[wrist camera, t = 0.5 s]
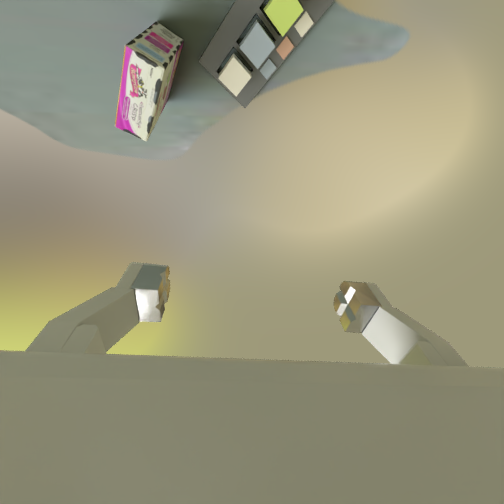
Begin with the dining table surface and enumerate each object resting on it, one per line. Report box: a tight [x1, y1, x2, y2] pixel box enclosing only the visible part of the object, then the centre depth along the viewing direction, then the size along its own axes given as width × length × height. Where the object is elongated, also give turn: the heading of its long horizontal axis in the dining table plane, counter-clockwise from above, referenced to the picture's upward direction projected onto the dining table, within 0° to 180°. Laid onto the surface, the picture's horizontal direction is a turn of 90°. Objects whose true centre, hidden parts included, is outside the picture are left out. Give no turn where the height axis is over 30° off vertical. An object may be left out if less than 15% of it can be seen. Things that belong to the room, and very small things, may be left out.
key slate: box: [239, 19, 275, 69], centre depth 38 cm, size 4×4×4 cm
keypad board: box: [199, 0, 334, 108], centre depth 38 cm, size 23×11×2 cm, turn 136°
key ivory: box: [218, 53, 251, 96], centre depth 41 cm, size 4×4×4 cm
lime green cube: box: [264, 0, 303, 37], centre depth 35 cm, size 4×4×4 cm
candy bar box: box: [115, 22, 184, 141], centre depth 37 cm, size 11×5×16 cm, turn 150°
